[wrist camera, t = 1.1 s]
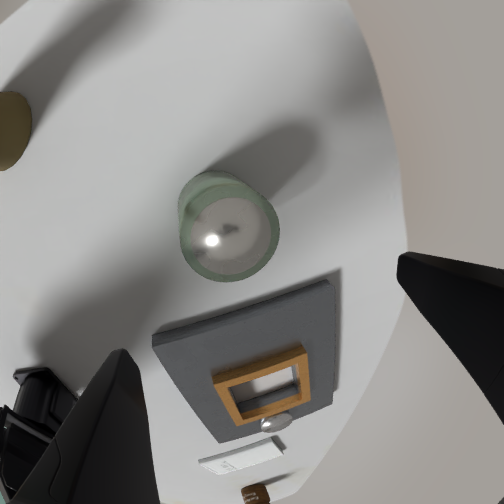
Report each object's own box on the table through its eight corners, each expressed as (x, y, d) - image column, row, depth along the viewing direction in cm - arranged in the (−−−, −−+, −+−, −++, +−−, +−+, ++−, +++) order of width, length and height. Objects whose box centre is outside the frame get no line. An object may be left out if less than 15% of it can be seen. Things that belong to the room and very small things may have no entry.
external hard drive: (281, 448, 39) (217, 469, 38) (269, 434, 35) (197, 457, 34) (284, 455, 37) (219, 476, 36) (272, 442, 34) (199, 465, 32)
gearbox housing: (217, 434, 30) (220, 449, 28) (152, 335, 21) (151, 355, 19) (327, 396, 33) (335, 409, 31) (326, 279, 24) (340, 293, 22)
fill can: (188, 249, 19) (197, 294, 14) (169, 182, 17) (166, 204, 12) (255, 229, 20) (286, 266, 15) (241, 163, 18) (271, 175, 13)
